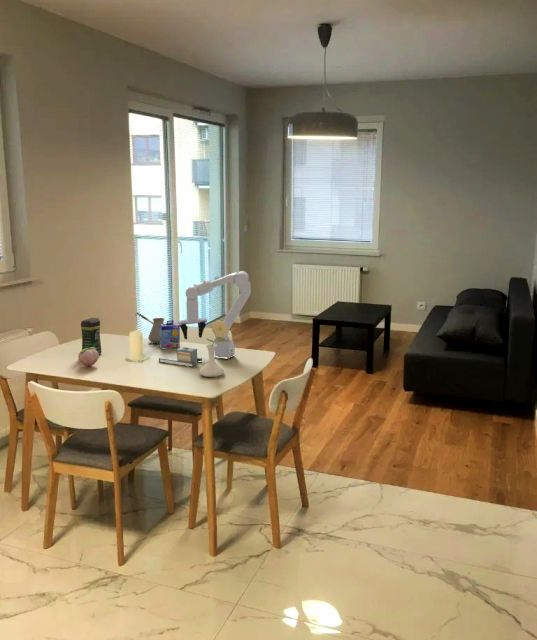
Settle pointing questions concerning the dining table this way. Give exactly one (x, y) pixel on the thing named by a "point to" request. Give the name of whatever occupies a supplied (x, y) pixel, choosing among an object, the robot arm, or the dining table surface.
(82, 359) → the decorative fruit
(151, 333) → the coffee pot
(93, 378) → the dining table surface
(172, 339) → the ink cartridge box
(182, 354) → the carton
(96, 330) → the coffee jar
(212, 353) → the flower in vase
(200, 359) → the price rail
